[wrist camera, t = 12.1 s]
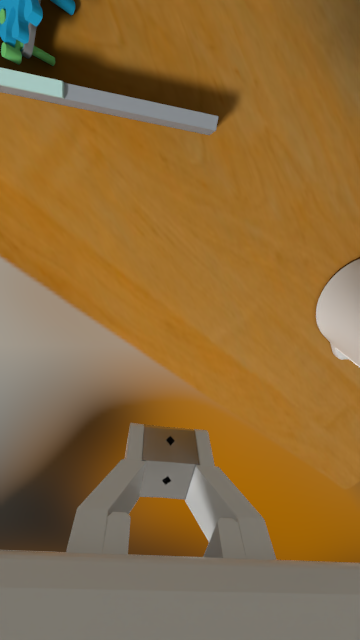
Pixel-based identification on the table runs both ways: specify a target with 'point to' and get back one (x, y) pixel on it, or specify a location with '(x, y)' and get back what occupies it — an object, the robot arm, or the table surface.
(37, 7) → the gear
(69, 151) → the table surface
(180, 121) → the bay
